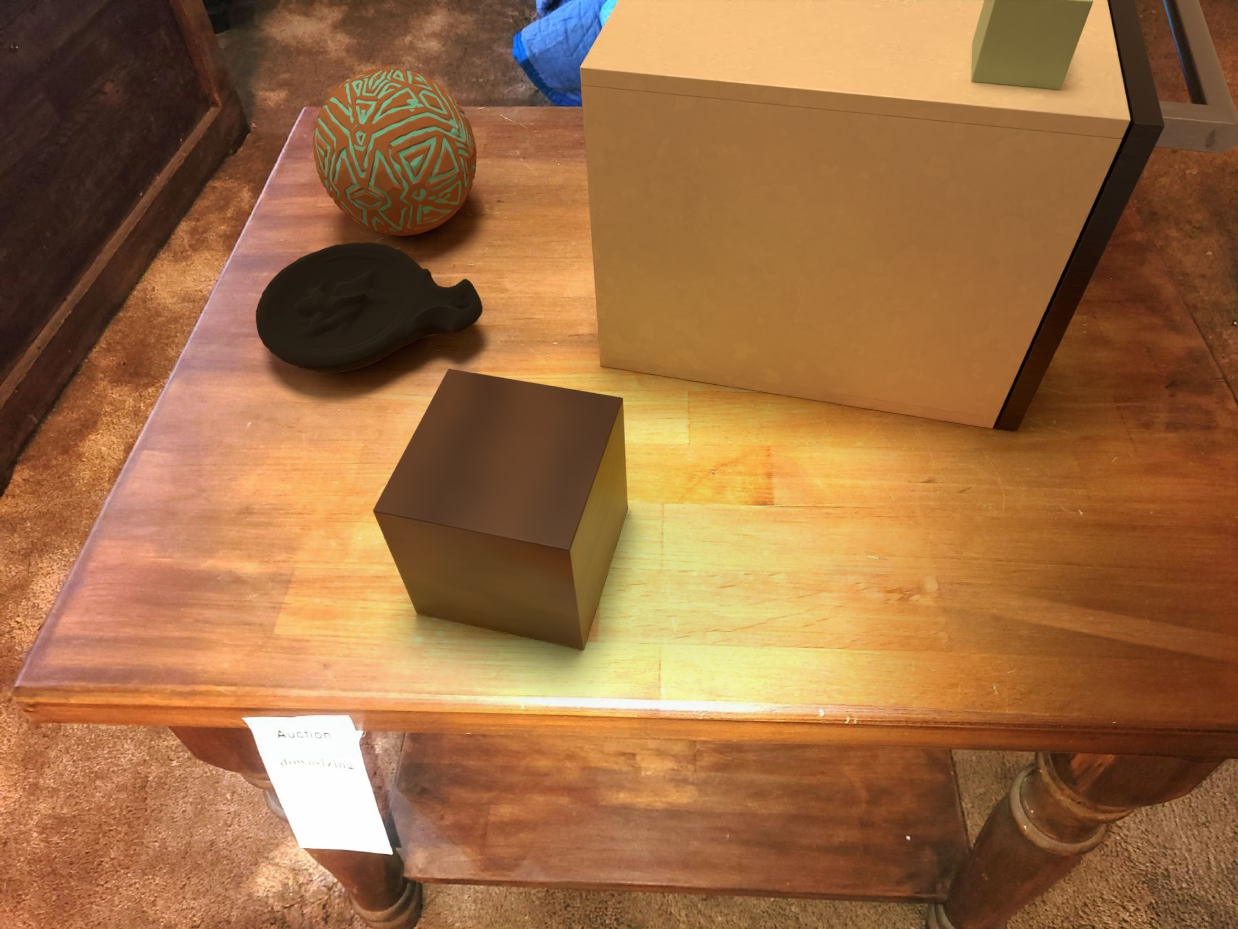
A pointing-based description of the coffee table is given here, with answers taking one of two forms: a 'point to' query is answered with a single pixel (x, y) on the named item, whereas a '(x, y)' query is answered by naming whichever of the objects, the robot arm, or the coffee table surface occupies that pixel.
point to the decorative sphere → (394, 151)
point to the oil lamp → (357, 307)
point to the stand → (509, 506)
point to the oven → (835, 197)
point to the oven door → (1132, 166)
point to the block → (1027, 41)
